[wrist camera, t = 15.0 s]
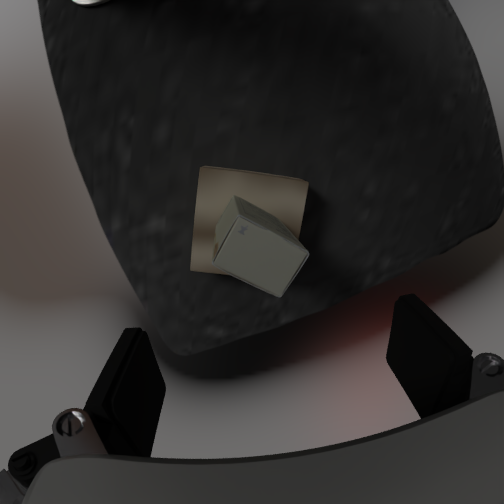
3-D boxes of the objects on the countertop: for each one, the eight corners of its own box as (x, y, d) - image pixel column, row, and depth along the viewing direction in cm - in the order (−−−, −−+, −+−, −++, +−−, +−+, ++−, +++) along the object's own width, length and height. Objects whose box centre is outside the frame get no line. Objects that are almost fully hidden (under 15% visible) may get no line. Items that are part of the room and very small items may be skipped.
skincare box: (214, 227, 33) (205, 263, 21) (233, 192, 32) (234, 210, 20) (264, 253, 34) (281, 301, 22) (283, 221, 33) (311, 253, 21)
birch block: (205, 165, 35) (200, 167, 31) (299, 178, 37) (308, 182, 32) (195, 256, 39) (190, 270, 34) (284, 266, 40) (290, 281, 36)
